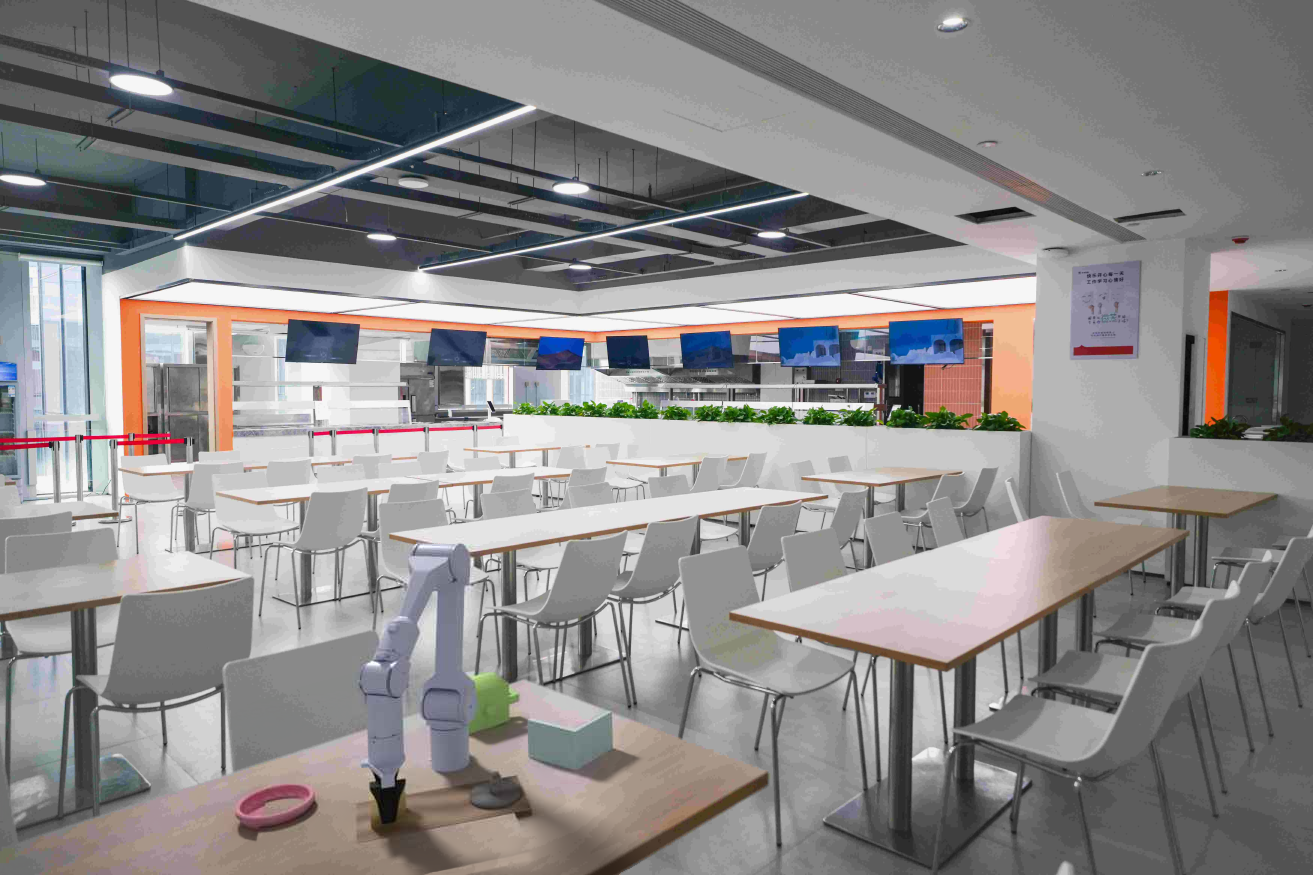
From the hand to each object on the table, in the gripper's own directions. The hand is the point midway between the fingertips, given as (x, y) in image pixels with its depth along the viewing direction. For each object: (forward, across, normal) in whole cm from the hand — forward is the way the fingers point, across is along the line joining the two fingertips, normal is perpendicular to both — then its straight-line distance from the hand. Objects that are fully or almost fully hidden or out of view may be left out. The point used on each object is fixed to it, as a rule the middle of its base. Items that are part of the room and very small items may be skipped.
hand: (387, 811), depth 136 cm
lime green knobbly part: (+2, -37, +20) cm, 43 cm away
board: (+2, 0, +9) cm, 9 cm away
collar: (+1, 0, 0) cm, 1 cm away
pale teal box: (+2, -15, +36) cm, 39 cm away
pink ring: (+2, -10, -18) cm, 21 cm away
